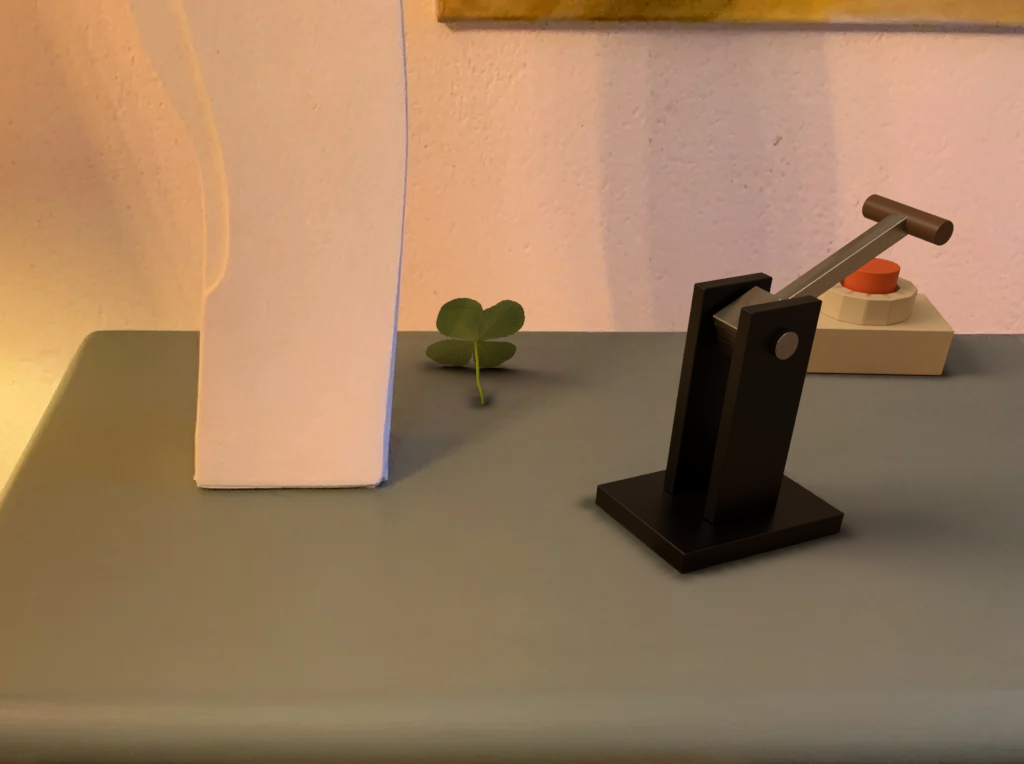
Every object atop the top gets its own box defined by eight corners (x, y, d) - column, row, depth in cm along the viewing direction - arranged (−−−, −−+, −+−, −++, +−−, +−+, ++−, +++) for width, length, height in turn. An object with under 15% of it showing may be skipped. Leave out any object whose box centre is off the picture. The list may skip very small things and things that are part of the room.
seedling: (468, 453, 85) (463, 378, 87) (555, 404, 80) (548, 325, 82) (402, 412, 80) (397, 333, 82) (490, 358, 75) (484, 275, 77)
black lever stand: (744, 468, 73) (787, 253, 64) (839, 532, 66) (901, 303, 58) (594, 503, 69) (619, 280, 60) (681, 573, 63) (722, 336, 54)
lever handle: (881, 220, 63) (877, 178, 61) (955, 248, 60) (953, 204, 58) (702, 344, 63) (693, 305, 61) (765, 379, 59) (757, 340, 58)
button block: (912, 335, 90) (931, 268, 87) (941, 375, 84) (963, 304, 81) (770, 332, 90) (783, 265, 87) (789, 372, 84) (804, 301, 81)
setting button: (887, 282, 85) (893, 257, 84) (899, 299, 83) (906, 273, 81) (838, 281, 85) (843, 256, 84) (849, 298, 83) (855, 272, 82)
